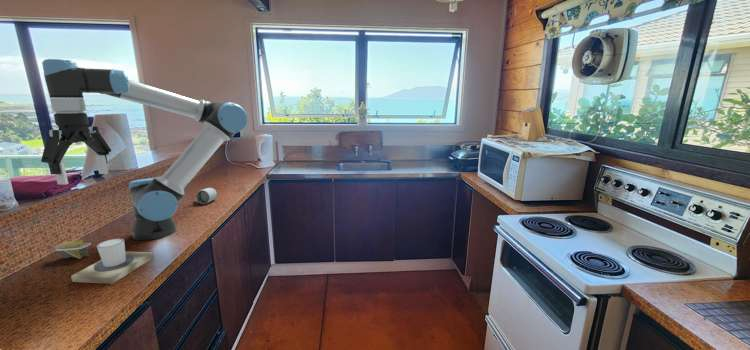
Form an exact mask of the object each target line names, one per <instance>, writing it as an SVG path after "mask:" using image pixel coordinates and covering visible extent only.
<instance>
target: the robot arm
mask: <svg viewBox="0 0 750 350" xmlns="http://www.w3.org/2000/svg"><path fill="white" fill-rule="evenodd" d="M42 70H43V77H44V80H45V83H46V89H47V92H48V95H49V100H50V106H51V109H52V111H53V112H55V113H54V114H53V118H54V123H55V125H56V126H58V129H47V131H46V135H47V138H46V141H45V145H44V149H43V152H42V157H41V160H40V161H41V163H45V164H49V165H50V166H51V171H52V172H51V173H52V174H53V175H55V179H56V183H57V185H69V180H68V175H67V172H66V168H65V167H66V166H65V163H64V162H61V161H62V160H63V158H64V156H65V155H66V153H67V151H68V149H69V148H70V146H72V145H73V144H76V143H77V144H78V143H84V144H85V145H86V146H88V148H90V149H91V150H92V151H93V152H95V154H96V155H95V160H96V165H97V171H98V174H99V175H108V174H109V168H108V158H107V157H108V156H107V155H110V153H111V152H112V149H111V147H110V146H109V145H108V143H107V141H106V139H104V137H103V136H102V135H101V132H100V130H99V127H98V126H97V125H94V126H91V125H90V126H89V123H90V122H89V118H88V114H87V113H85V112H86V111H87V108H86V107H87V106H86V104H85V99H84V95H83V94H84V93H85V94H100V95H106V96H110V97H113V98H117V99H118V98H119V99H122V100H124V101H125V100H126V101H129V102H134V103H137V104H141V105H144V106H148V107H150V108H156V109H158V110H164V111H167V112H169V113H174V114H177V115H182V116H184V117H188V118H192V119H193V120H195V121H196V122H198V123H201V124H203V126H204V127H203V129H202V130H201V131H200V132H199V133H198V134H197V136H196V137H195V138H194V139H193V140H192V141H191V143H190V144H189V145H188V146H187V147H186V148H185V149H184V150H183V152H181V154H180V155H179V156H178V158H176V159H175V161H174V162H173V163H172V164H171V165H170V167H169V168H168V169H167V170H166V171H165V172H164V173H163V174H162V176H161V175H160V176H156V177H149V178H141V179H136V180H131V181H130V182H129V183H128V191H129V193H130V201H131V205H132V210H133V215H134V216H133V217H134V221H133V223H132V224H133V225H132V231H131V233H132V234H131V235H132V239H134V240H135V241H137V240H138V241H150V240H156V239H161V238H164V237H166V236H169V235H172V234H173V233H175V231H177V229H178V228H177V223H176V222H175V220H174V218H173V215H174V214H175V213H176V212H177V210H178V205H179V202H180V201H181V200H182V198H183V197H184V196H185V188H186V187H187V186H188V184H189V183H190V182H191V181H192V180H193V179H194V177H195V176H196V175H197V174H198V173H199V172H200V171H201V169H202V168H203V167H204V165H205V164H206V163H207V162H208V161H209V159H211V157H212V156H213V155H214V153H216V151H217V150H218V149H219V148H220V147H221V146H222V144H223V143H224V142H228V141H231V139H232V138H233V137H234V136H235V134H237V133H240V132H242V131H243V130H244V129H245V128H246V127H247V125H248V114H247V112H246V110H245V109H244V108H243V107H242V106H241V105H239V104H238V103H235V102H230V101H229V102H215V101H209V100H205V99H199V100H197V99H193V98H190V97H186V96H184V95H181V94H177V93H174V92H171V91H168V90H164V89H161V88H157V87H155V86H152V85H148V84H145V83H142V82H141V83H140V82H138V81H135V80H130V79H129V77H128V74H127V72H126V71H125V70H119V69H107V68H106V69H105V68H87V67H86V68H85V67H79V66H78V64H77V63H76V61H75V60H74V61H73V60H70V59H60V58H58V59H57V58H46V59H44V60H43V61H42Z"/></svg>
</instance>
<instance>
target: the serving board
mask: <svg viewBox="0 0 750 350" xmlns="http://www.w3.org/2000/svg"><path fill="white" fill-rule="evenodd" d="M125 255H126V261H125V262H123V263H122V264H119V265H117V266H112V267H105V266H104V265H103V262H102V260H101V259H100V260H98V261H96V262H94V263H93V264H91V265H88V266H87V267H85V268H83V269H82V270H80V271H77V272H75V273H74V274H72V275H71V277H70V278H71V282H72V283H86V284H87V283H89V284H91V283H92V284H110V285H112V284H115V283H117V281H120V280H121V279H122V278H124V277H126V276H127V275H129V274H130V273H132V272H133V271H135V270H137V269H138V268H140V267H142V266H143V265H145V264H146V263H147V262H149V261H150V260H152V259H153V258H154V254H153V252H151V251H150V252H149V251H126V250H125Z"/></svg>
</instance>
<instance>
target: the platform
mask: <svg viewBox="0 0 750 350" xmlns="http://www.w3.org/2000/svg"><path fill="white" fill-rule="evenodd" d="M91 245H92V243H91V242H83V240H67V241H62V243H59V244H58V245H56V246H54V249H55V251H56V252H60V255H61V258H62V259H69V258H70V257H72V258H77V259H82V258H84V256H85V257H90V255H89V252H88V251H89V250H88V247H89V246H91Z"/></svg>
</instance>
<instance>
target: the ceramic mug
mask: <svg viewBox="0 0 750 350" xmlns="http://www.w3.org/2000/svg"><path fill="white" fill-rule="evenodd" d="M217 196H218V193H217V190H216V189H214V188H212V187H207V188H204V189H200V190H198V191H197V192H196V193H195V198H194V199H193V200H194V202H195V203H196V202H197V203H198V204H201V205H207V204H208V203H210V202H212V201H215V199H216V198H217Z"/></svg>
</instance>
